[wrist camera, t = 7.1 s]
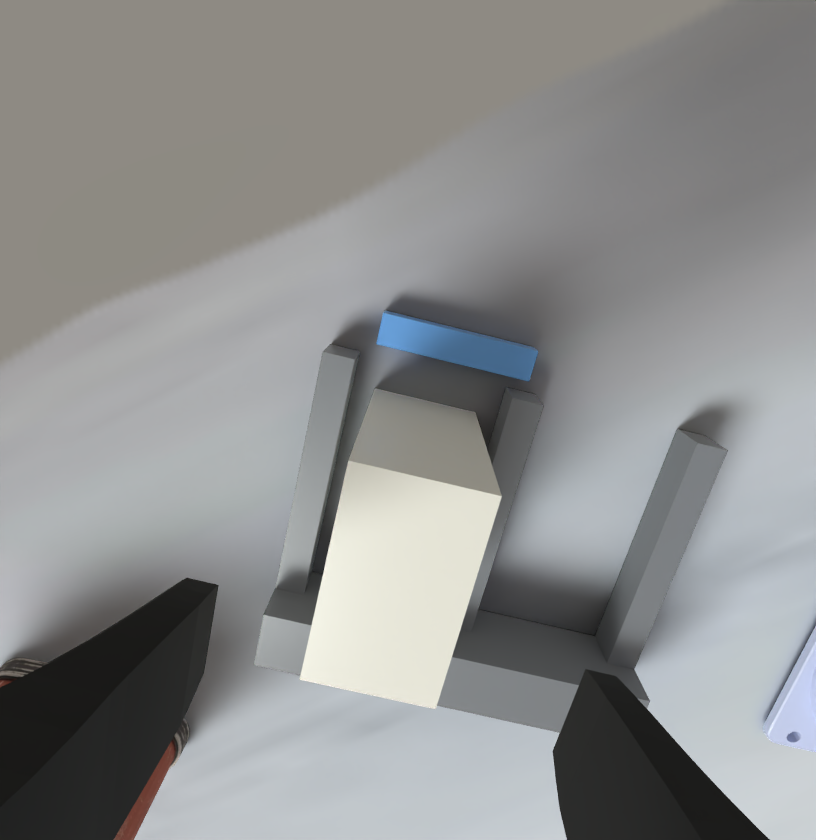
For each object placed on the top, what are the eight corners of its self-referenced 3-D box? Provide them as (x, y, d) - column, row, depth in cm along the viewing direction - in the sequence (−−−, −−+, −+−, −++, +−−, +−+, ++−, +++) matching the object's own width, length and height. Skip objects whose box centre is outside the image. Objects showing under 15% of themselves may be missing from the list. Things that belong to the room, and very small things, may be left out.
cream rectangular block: (475, 412, 19) (501, 496, 13) (432, 564, 21) (435, 709, 14) (374, 388, 19) (348, 460, 13) (339, 542, 21) (299, 679, 14)
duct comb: (705, 435, 19) (754, 467, 16) (602, 683, 22) (629, 747, 19) (330, 343, 19) (313, 360, 16) (276, 610, 22) (253, 665, 19)
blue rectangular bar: (533, 347, 19) (538, 351, 18) (524, 376, 19) (528, 381, 18) (385, 310, 18) (383, 312, 18) (378, 340, 19) (376, 344, 18)
